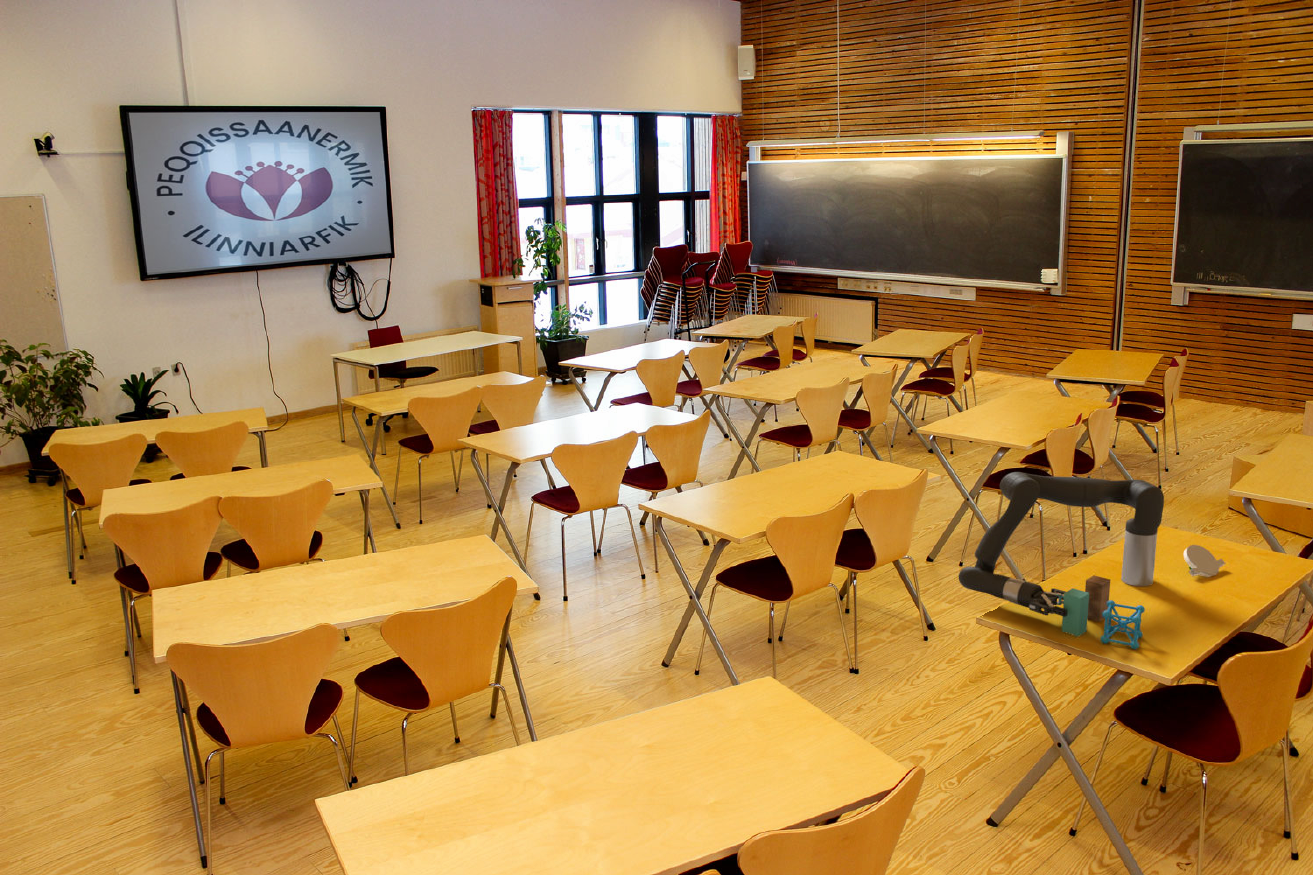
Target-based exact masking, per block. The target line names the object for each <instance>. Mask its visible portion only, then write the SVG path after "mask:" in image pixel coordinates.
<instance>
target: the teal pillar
mask: <svg viewBox="0 0 1313 875" xmlns="http://www.w3.org/2000/svg"><path fill="white" fill-rule="evenodd" d="M1063 595H1064V600H1063V601H1064V602H1063V604H1062V608H1064V609H1067V616H1066V617H1063V616H1062V618H1061V619H1062V620H1061V632H1063V633H1065V632H1067V633H1066V634H1068V633H1070V634H1069V635H1071V634H1073V635H1072V636H1075V637H1080V636H1081V635H1083V634H1084V633H1087V630H1088V629H1087V628H1088V604H1089V593H1088V592H1085V591H1083V590H1080V589H1076V588H1074V587H1072V588H1071V589H1069V590H1068V591H1066V593H1064V594H1063ZM1079 635H1080V636H1079Z"/></svg>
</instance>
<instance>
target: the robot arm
mask: <svg viewBox="0 0 1313 875" xmlns="http://www.w3.org/2000/svg"><path fill="white" fill-rule="evenodd" d="M999 489H1000V491H1001V493H1002V495H1003V496H1004V497H1005V499H1007V500H1009V504H1008V506H1007V508H1006V509H1005V511H1004V513H1003V514H1002V515H1001V517H1000V518H999V519H998V520H997V521H996V522H995V523H993V524H992V525H991V526H990V527H989V528H988V529H987V530H986V531H985V533H984V535H982V538H981V539H980V541H979V544H978V545H977V547H976V549H975V552H974V557H975V558H976V562H975V563H974V564H975V565H974V566H966V567H963V568H962V569H961V570H960V571H959V574H958V582H959V583H960V585H961V586H963V588H965V589H968V590H971V591H975V592H978V593H979V592H980V593H982V594H988V595H991V596H994V597H995V598H998V599H1002V600H1005V601H1007V602H1009V603H1012V604H1013V605H1014V604H1015V605H1019V606H1021V607H1025V608H1027V609H1029V610H1030V611H1032V612H1035V613H1038V614H1041V615H1043V616H1049V615H1054V614H1055V615H1058V616H1061V617H1062V618H1063V617H1066V616H1067V609H1064V608H1063V607H1060V606H1061V605H1063V602H1064V593H1066V592H1067V591H1066V590H1061V589H1057V588H1054V587H1053V588H1051V589H1050V590H1051V591H1044V589H1043V587H1042V586H1041V585H1040V584H1037V583H1034V582H1030V581H1027V580H1025V579H1019V578H1013V577H1010V576H1006V575H1004V574H998V573H994V572H995V569H996V564H997V562H998V560H999V558H1000V556H1001V555H1002V552H1003V551H1004V549H1005V547H1006V545H1007V543H1008V541H1009V540H1010V538H1011V536H1012V535H1013V533H1014V531H1016V529H1017V527H1018V526H1019V525H1020V524H1021V522H1022V521H1023V519H1025V517H1026V515H1027V514H1028V513H1029V512H1030V510H1031V509H1032V508H1033V506H1034V505H1035V504H1036V502H1037V501H1038V499H1041V500H1045V501H1050V502H1053V503H1057V504H1060V505H1064V506H1065V505H1066V506H1070V507H1077V508H1078V507H1081V508H1092V507H1098V506H1100V505H1105V504H1109V503H1112V504H1118V505H1119V504H1120V505H1124V506H1129V507H1131V508H1133V509H1135V510H1134V517H1133V518H1130V519H1128V520H1126V522H1125V530H1124V544H1123V556H1122V566H1121V577H1120V578H1121V581H1122V582H1123V583H1125V584H1127V585H1130V586H1133V587H1148V586H1151V585H1153V584H1154V575H1155V574H1154V573H1155V564H1156V552H1157V551H1156V550H1157V541H1158V540H1157V539H1158V530H1159V527H1160V525H1161V524H1162V519H1163V510H1164V507H1165V506H1164V504H1165V495H1164V493H1163V490H1162V489H1161V488H1160V487H1158V486H1156V485H1154V484H1153V483H1150V482H1148V481H1146V480H1143V479H1122V480H1109V479H1102V478H1091V477H1081V476H1079V477H1078V476H1043V475H1038V474H1030V473H1027V472H1021V471H1014V472H1010V473H1008V474H1006V475H1005V476H1003V478H1002V479H1001V480H1000V483H999Z"/></svg>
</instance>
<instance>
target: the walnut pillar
mask: <svg viewBox="0 0 1313 875" xmlns="http://www.w3.org/2000/svg"><path fill="white" fill-rule="evenodd" d="M1110 589H1111V579H1109V578H1105V577H1103V576H1099V575H1095V574H1094V575H1092V576H1090V577H1089V578H1086V580H1085V589H1084V590H1085V591H1084V592H1088V593H1089V604H1088V618H1087V620H1092V621H1095V622H1097V623H1101V622H1102V621H1103V620H1104V621H1105V618H1104V617H1103V616H1102V613H1103V612H1104V611H1106V610H1107V609H1108V606H1107V602H1108V601H1109V600H1110V593H1111V591H1110Z"/></svg>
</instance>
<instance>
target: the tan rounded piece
mask: <svg viewBox="0 0 1313 875" xmlns="http://www.w3.org/2000/svg"><path fill="white" fill-rule="evenodd" d="M1183 559H1184V561H1185V562H1186V564H1187V566H1188V569H1189V571H1188V573H1189V574H1190V576H1191V577H1195V576H1201V577H1206V578H1210V577H1212V576H1216V575H1217V574H1219V571H1220V568H1221V567H1224V566H1225V565H1226V562H1225V560H1223V558H1219V559H1216V558H1215V556H1214V554H1213V553H1212V552H1211V551H1210V550H1208V549H1207V548H1205V547H1204V546H1201V545H1198V544H1191V545H1189V546H1188V547H1186V549H1184V551H1183Z"/></svg>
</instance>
